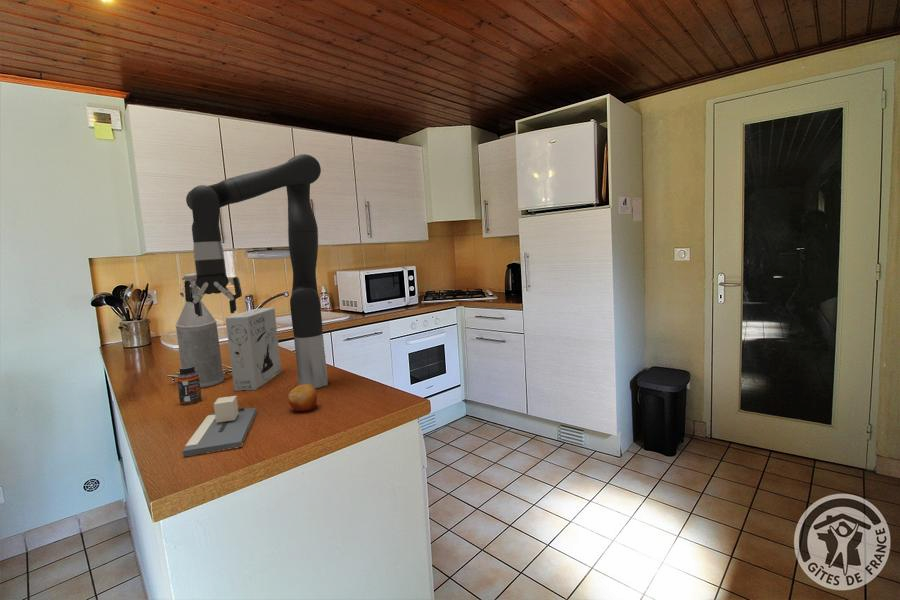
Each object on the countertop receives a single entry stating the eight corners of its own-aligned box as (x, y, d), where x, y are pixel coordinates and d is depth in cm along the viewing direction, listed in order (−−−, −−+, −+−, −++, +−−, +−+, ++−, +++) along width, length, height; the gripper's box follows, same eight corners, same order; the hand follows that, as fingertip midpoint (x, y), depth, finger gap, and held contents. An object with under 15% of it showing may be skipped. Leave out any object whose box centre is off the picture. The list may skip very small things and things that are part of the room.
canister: (214, 374, 171) (201, 272, 166) (230, 382, 159) (217, 272, 154) (176, 383, 162) (162, 275, 157) (191, 391, 150) (175, 275, 145)
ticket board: (256, 412, 125) (255, 404, 125) (241, 447, 102) (240, 438, 102) (210, 419, 122) (209, 411, 122) (183, 457, 99) (182, 447, 99)
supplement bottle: (191, 405, 135) (187, 369, 134) (175, 405, 136) (170, 369, 135) (206, 398, 141) (201, 364, 140) (190, 398, 142) (185, 364, 141)
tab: (238, 413, 120) (236, 395, 119) (234, 419, 115) (232, 401, 114) (220, 416, 119) (218, 398, 118) (215, 422, 114) (213, 404, 113)
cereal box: (256, 390, 147) (247, 316, 144) (233, 391, 147) (224, 317, 144) (281, 372, 168) (274, 307, 166) (262, 373, 169) (254, 308, 166)
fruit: (327, 398, 130) (317, 379, 125) (315, 420, 124) (303, 401, 119) (304, 396, 133) (293, 378, 128) (291, 418, 127) (278, 400, 122)
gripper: (239, 256, 131) (245, 310, 133) (185, 259, 127) (192, 315, 129) (234, 256, 124) (240, 313, 126) (177, 260, 120) (185, 318, 122)
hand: (216, 314), depth 127 cm, fingers open, 8 cm apart
